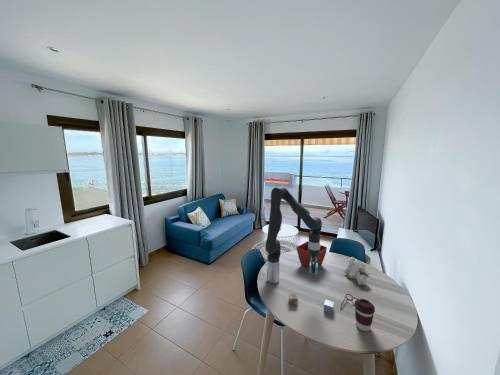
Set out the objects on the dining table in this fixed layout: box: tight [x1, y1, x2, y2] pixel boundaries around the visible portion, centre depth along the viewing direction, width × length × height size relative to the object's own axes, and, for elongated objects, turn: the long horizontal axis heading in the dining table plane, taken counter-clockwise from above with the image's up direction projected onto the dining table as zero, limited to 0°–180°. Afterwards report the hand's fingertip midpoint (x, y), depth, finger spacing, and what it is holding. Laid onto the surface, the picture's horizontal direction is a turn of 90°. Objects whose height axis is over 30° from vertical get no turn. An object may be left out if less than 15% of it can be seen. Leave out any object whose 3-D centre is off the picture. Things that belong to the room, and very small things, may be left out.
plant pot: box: [296, 240, 328, 270], centre depth 178 cm, size 19×19×17 cm
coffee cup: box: [354, 298, 376, 332], centre depth 114 cm, size 10×10×15 cm
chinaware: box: [344, 256, 369, 286], centre depth 160 cm, size 28×17×17 cm, turn 159°
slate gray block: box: [323, 299, 335, 315], centre depth 128 cm, size 5×5×5 cm
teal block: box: [309, 262, 319, 275], centre depth 137 cm, size 5×5×5 cm
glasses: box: [340, 293, 359, 311], centre depth 129 cm, size 13×13×5 cm
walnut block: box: [288, 292, 299, 307], centre depth 135 cm, size 5×5×5 cm
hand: (313, 270), depth 137 cm, fingers closed on teal block, 5 cm apart
